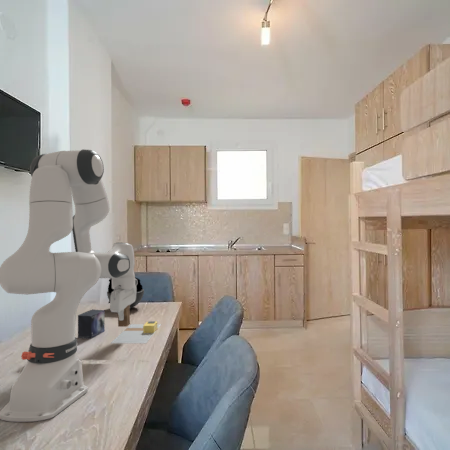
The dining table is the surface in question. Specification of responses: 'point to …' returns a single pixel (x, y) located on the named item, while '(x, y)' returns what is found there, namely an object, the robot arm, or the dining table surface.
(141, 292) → the coal bowl
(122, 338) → the board
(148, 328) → the block
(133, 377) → the dining table surface
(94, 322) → the small box
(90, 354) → the dining table surface
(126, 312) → the wooden block with knob
